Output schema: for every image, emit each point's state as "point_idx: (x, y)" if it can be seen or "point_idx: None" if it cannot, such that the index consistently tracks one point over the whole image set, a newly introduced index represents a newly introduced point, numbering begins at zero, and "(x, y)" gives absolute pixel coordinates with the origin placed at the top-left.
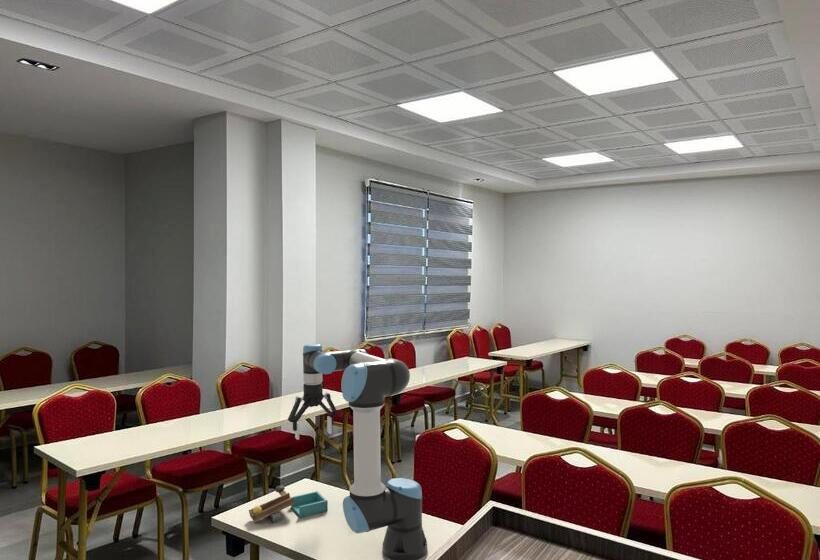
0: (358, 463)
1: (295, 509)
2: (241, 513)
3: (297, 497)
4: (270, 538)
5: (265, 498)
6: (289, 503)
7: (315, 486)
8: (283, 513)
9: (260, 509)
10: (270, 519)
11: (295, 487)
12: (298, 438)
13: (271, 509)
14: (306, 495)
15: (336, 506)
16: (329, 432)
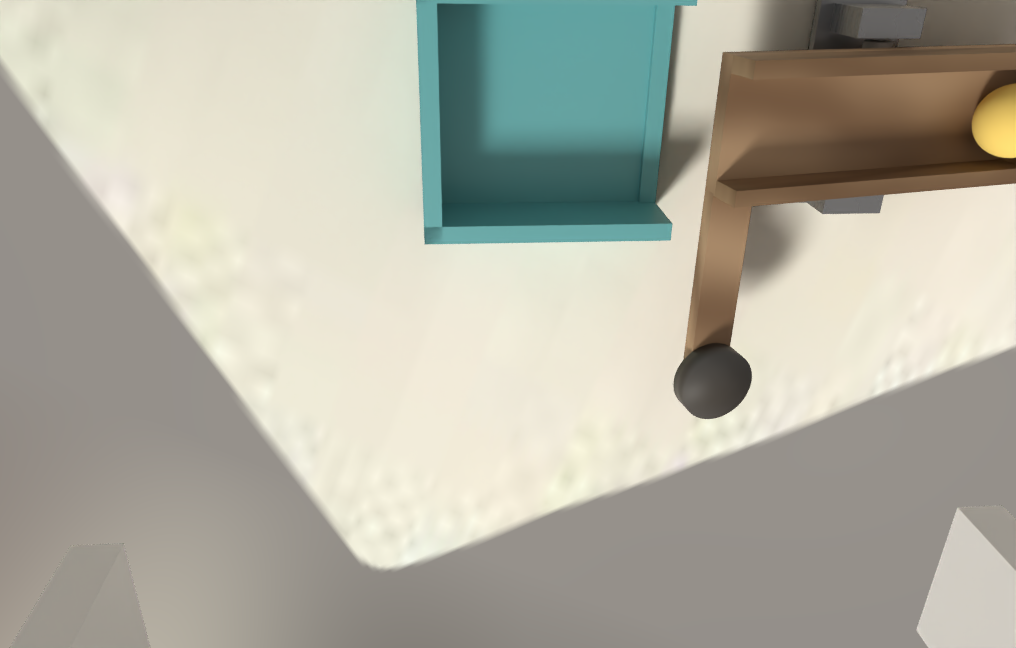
0: None
1: (660, 115)
2: (968, 288)
3: (616, 220)
4: None
5: (733, 432)
6: (780, 54)
7: (351, 460)
8: None
9: (1010, 95)
10: None
11: (488, 503)
12: (990, 521)
13: (936, 52)
14: (534, 221)
15: (314, 21)
16: (117, 590)
